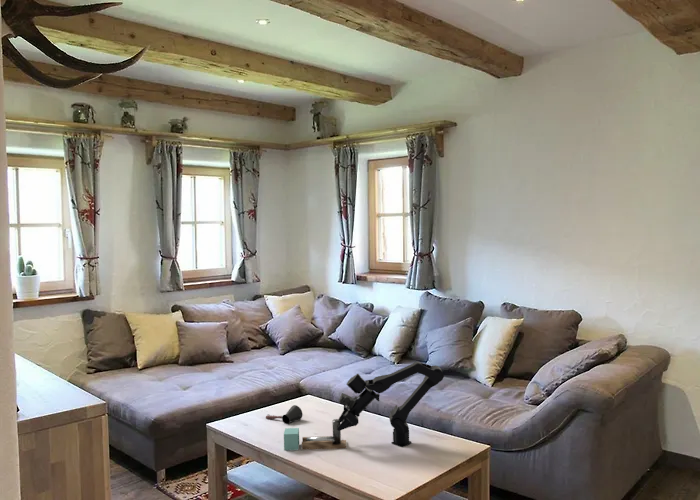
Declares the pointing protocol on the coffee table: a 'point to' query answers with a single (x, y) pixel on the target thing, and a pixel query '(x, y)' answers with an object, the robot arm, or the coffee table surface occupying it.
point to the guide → (321, 444)
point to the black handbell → (289, 415)
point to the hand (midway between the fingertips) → (337, 426)
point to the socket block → (291, 438)
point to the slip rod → (335, 438)
